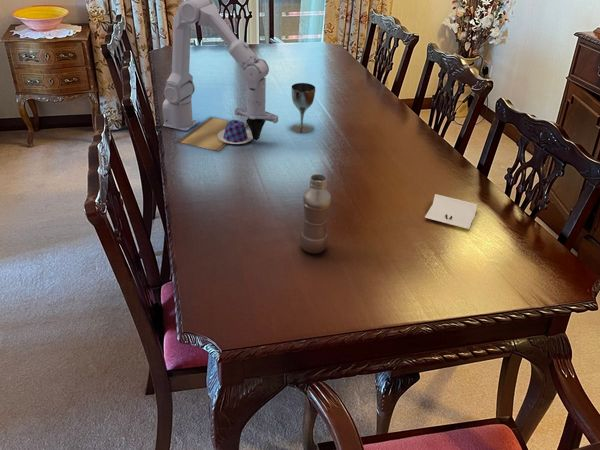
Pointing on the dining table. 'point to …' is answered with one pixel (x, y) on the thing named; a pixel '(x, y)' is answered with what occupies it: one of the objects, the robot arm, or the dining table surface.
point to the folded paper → (452, 211)
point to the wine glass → (302, 103)
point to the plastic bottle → (315, 215)
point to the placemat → (207, 135)
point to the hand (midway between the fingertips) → (256, 138)
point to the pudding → (235, 133)
